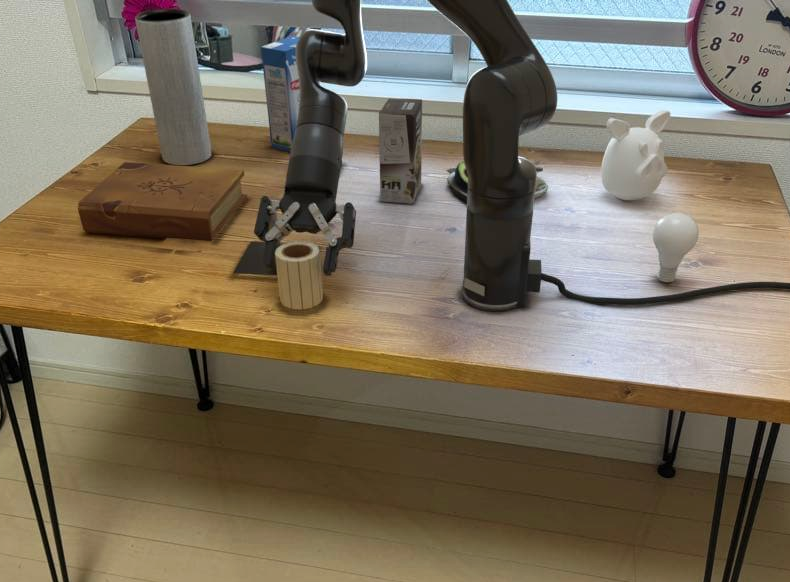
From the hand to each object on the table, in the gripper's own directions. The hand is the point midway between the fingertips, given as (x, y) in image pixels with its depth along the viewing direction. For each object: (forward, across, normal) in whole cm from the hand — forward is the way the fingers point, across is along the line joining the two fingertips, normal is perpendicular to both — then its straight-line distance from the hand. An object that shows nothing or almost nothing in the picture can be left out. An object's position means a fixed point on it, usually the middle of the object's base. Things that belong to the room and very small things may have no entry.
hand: (298, 271), depth 116 cm
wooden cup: (+3, 0, +5) cm, 6 cm away
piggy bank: (-30, +48, +38) cm, 68 cm away
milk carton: (-42, -21, +50) cm, 68 cm away
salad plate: (-29, +23, +38) cm, 53 cm away
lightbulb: (-8, +53, +17) cm, 56 cm away
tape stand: (-5, -8, +13) cm, 16 cm away
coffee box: (-26, +6, +34) cm, 44 cm away
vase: (-33, -41, +41) cm, 67 cm away
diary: (-14, -32, +22) cm, 41 cm away
